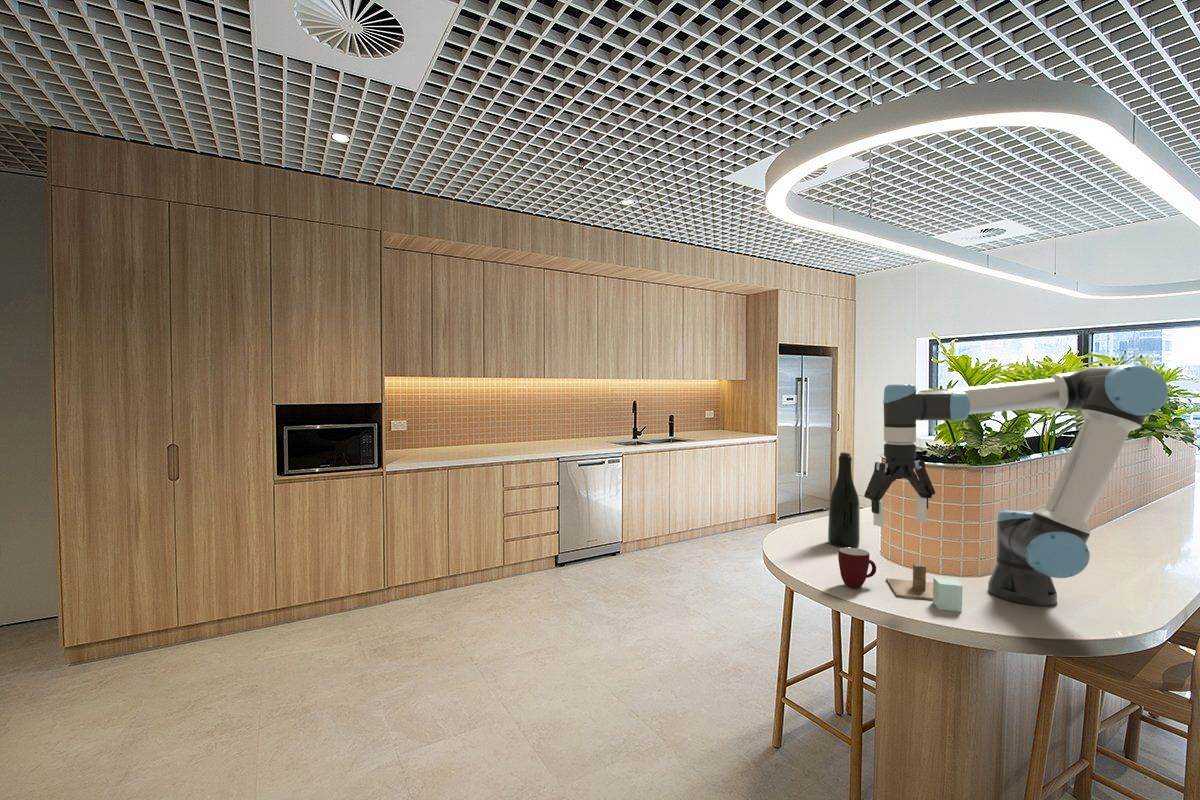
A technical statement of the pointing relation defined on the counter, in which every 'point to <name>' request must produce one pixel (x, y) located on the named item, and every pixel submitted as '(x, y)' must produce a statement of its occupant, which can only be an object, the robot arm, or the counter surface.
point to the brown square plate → (913, 585)
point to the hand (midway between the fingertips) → (900, 523)
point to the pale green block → (947, 594)
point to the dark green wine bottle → (844, 507)
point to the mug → (855, 566)
